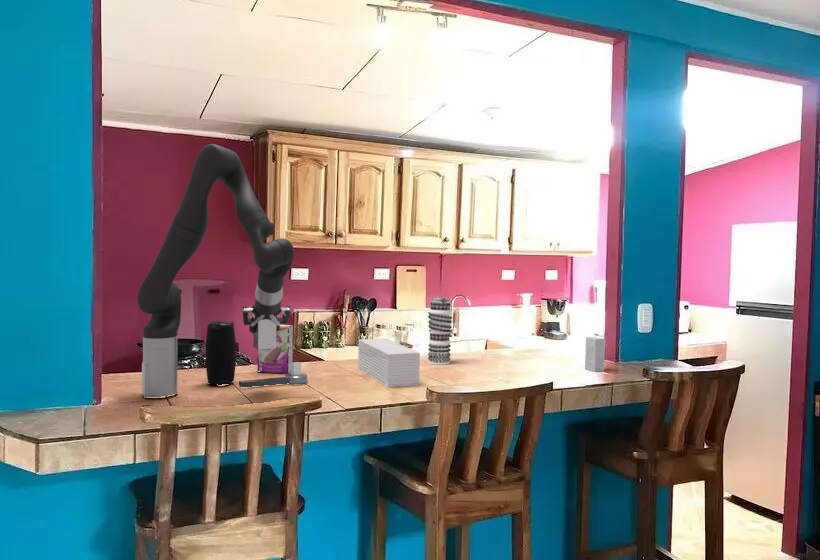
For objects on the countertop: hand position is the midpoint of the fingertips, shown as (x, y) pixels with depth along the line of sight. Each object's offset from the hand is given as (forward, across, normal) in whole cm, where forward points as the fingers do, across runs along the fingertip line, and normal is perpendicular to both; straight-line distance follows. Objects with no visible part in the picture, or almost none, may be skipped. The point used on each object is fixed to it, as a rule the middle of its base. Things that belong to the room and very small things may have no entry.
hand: (264, 330), depth 192 cm
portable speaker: (+21, +12, +4) cm, 25 cm away
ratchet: (+18, -4, +8) cm, 20 cm away
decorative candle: (+34, -69, -8) cm, 78 cm away
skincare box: (+15, -120, +11) cm, 121 cm away
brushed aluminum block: (+2, 0, +5) cm, 5 cm away
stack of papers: (+21, -42, +5) cm, 48 cm away
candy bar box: (+32, -7, -6) cm, 33 cm away
